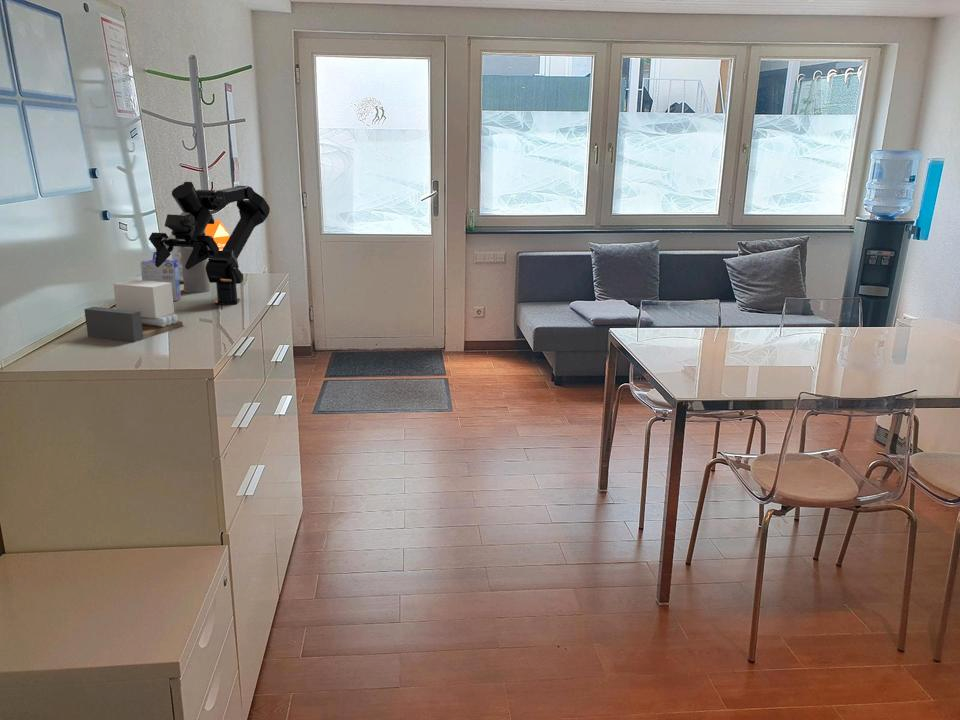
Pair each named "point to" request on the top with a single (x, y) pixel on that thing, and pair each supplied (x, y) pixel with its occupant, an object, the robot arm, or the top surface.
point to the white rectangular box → (147, 301)
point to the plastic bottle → (177, 255)
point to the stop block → (114, 324)
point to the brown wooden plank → (159, 329)
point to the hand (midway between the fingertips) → (171, 267)
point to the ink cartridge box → (162, 274)
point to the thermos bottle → (194, 272)
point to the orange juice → (218, 233)
